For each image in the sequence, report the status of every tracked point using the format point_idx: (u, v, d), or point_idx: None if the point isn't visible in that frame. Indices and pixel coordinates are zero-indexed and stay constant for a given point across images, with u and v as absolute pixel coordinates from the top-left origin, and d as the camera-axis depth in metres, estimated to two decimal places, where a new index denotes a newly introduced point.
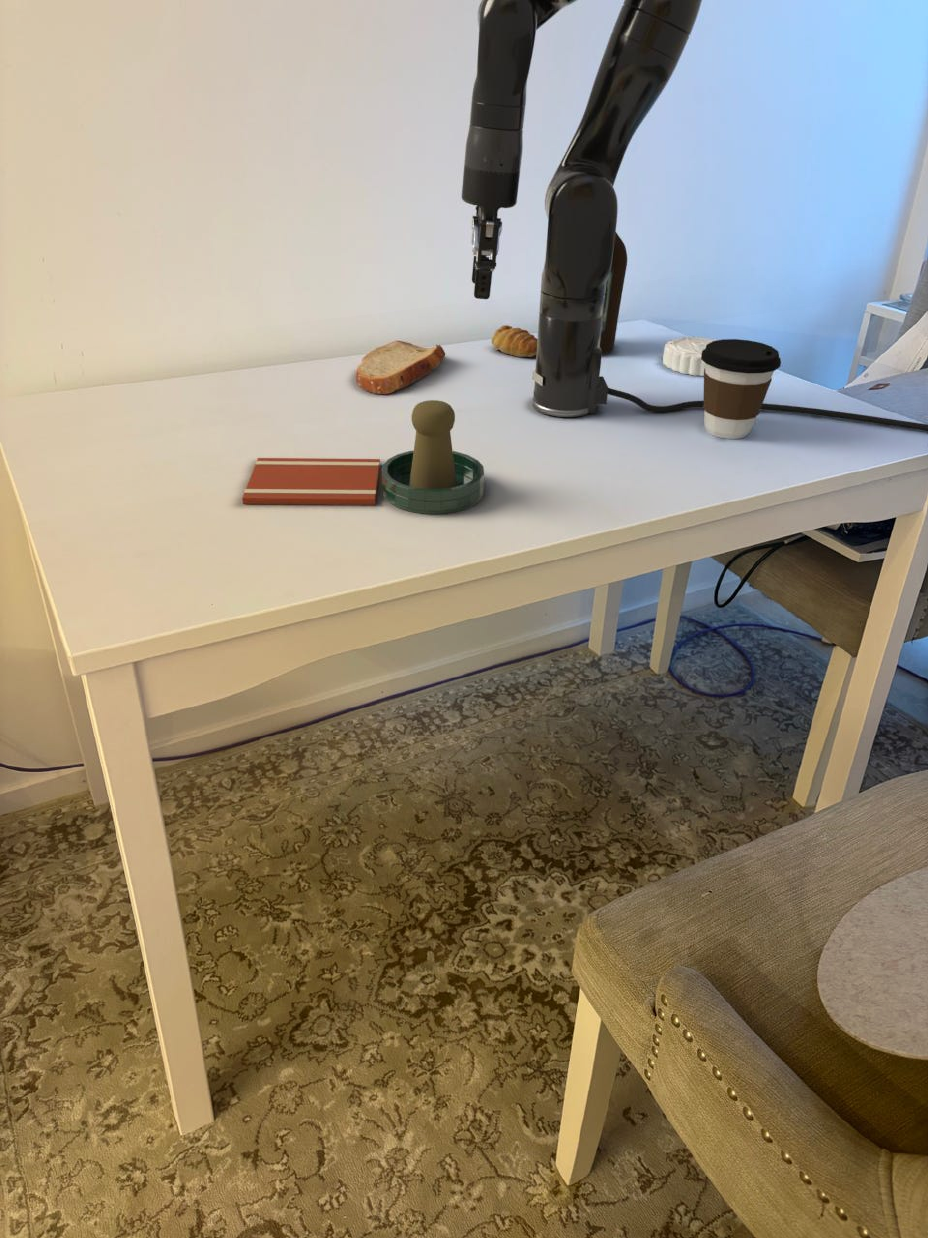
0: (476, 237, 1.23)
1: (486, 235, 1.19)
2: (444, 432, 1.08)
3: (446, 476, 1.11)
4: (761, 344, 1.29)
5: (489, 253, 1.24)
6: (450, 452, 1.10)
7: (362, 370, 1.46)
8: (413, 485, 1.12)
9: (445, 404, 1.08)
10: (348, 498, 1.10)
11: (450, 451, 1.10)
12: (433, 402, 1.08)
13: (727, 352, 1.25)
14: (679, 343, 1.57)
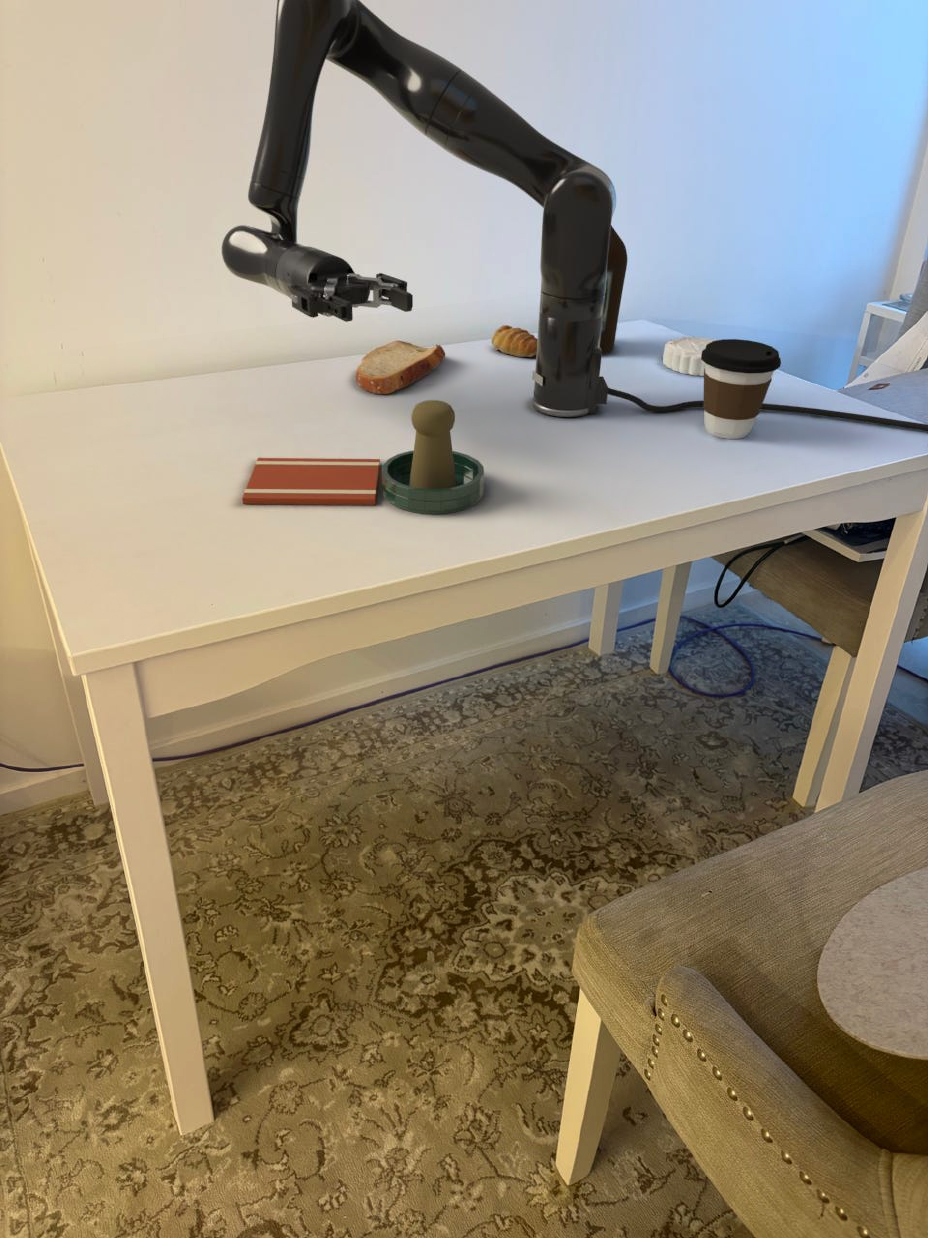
0: None
1: (296, 302, 1.13)
2: (444, 432, 1.08)
3: (446, 476, 1.11)
4: (761, 344, 1.29)
5: None
6: (450, 452, 1.10)
7: (362, 370, 1.46)
8: (413, 485, 1.12)
9: (445, 404, 1.08)
10: (348, 498, 1.10)
11: (450, 451, 1.10)
12: (433, 402, 1.08)
13: (727, 352, 1.25)
14: (679, 343, 1.57)
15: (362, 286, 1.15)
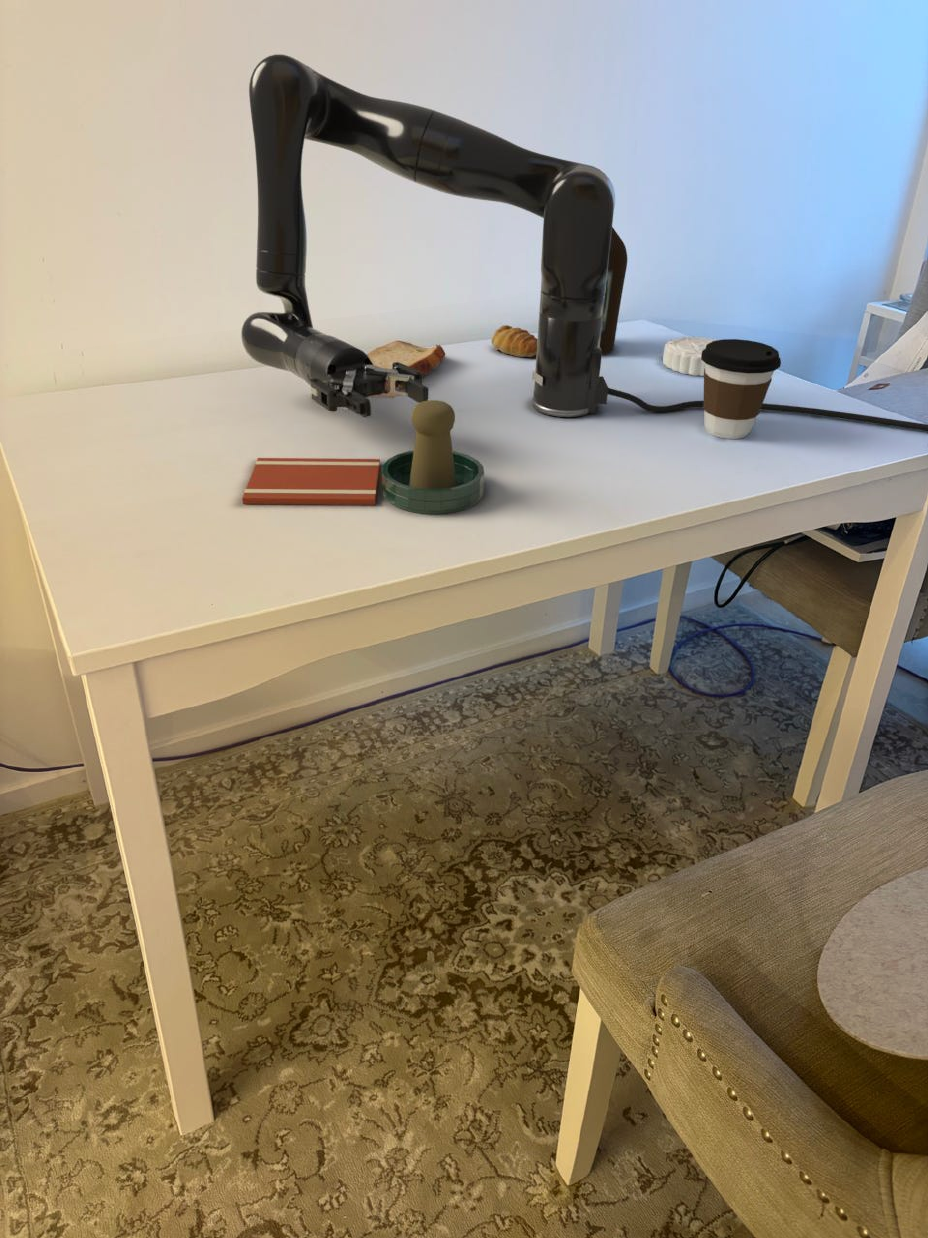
0: None
1: (315, 395, 1.17)
2: (444, 432, 1.08)
3: (446, 476, 1.11)
4: (761, 344, 1.29)
5: None
6: (450, 452, 1.10)
7: None
8: (413, 485, 1.12)
9: (445, 404, 1.08)
10: (348, 498, 1.10)
11: (450, 451, 1.10)
12: (433, 402, 1.08)
13: (727, 352, 1.25)
14: (679, 343, 1.57)
15: (379, 378, 1.19)
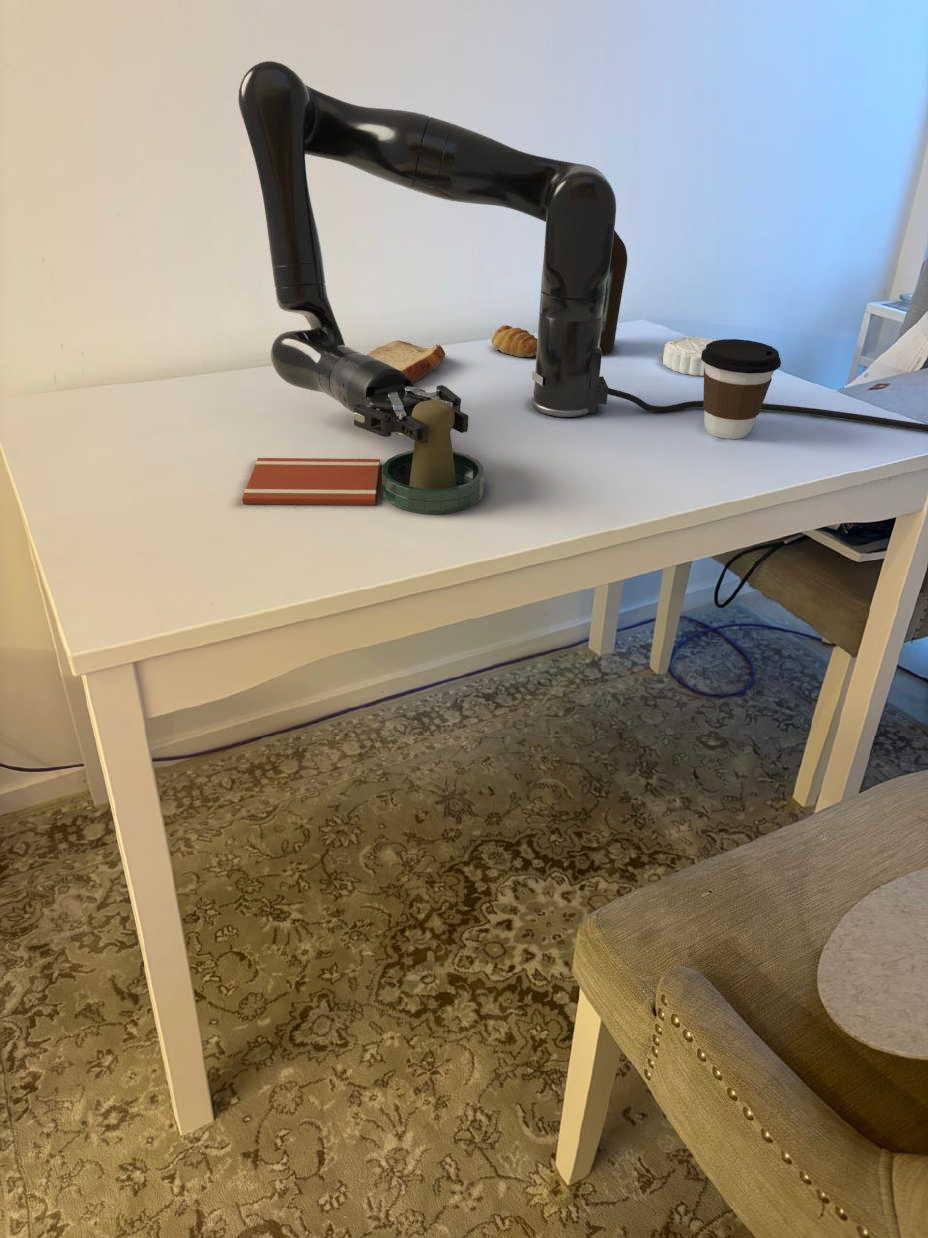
0: None
1: (362, 421, 1.10)
2: (444, 432, 1.08)
3: (445, 476, 1.11)
4: (761, 344, 1.29)
5: None
6: (450, 451, 1.10)
7: None
8: (413, 485, 1.12)
9: (445, 404, 1.08)
10: (348, 498, 1.10)
11: (450, 451, 1.10)
12: (433, 402, 1.08)
13: (727, 352, 1.25)
14: (679, 343, 1.57)
15: (421, 401, 1.12)
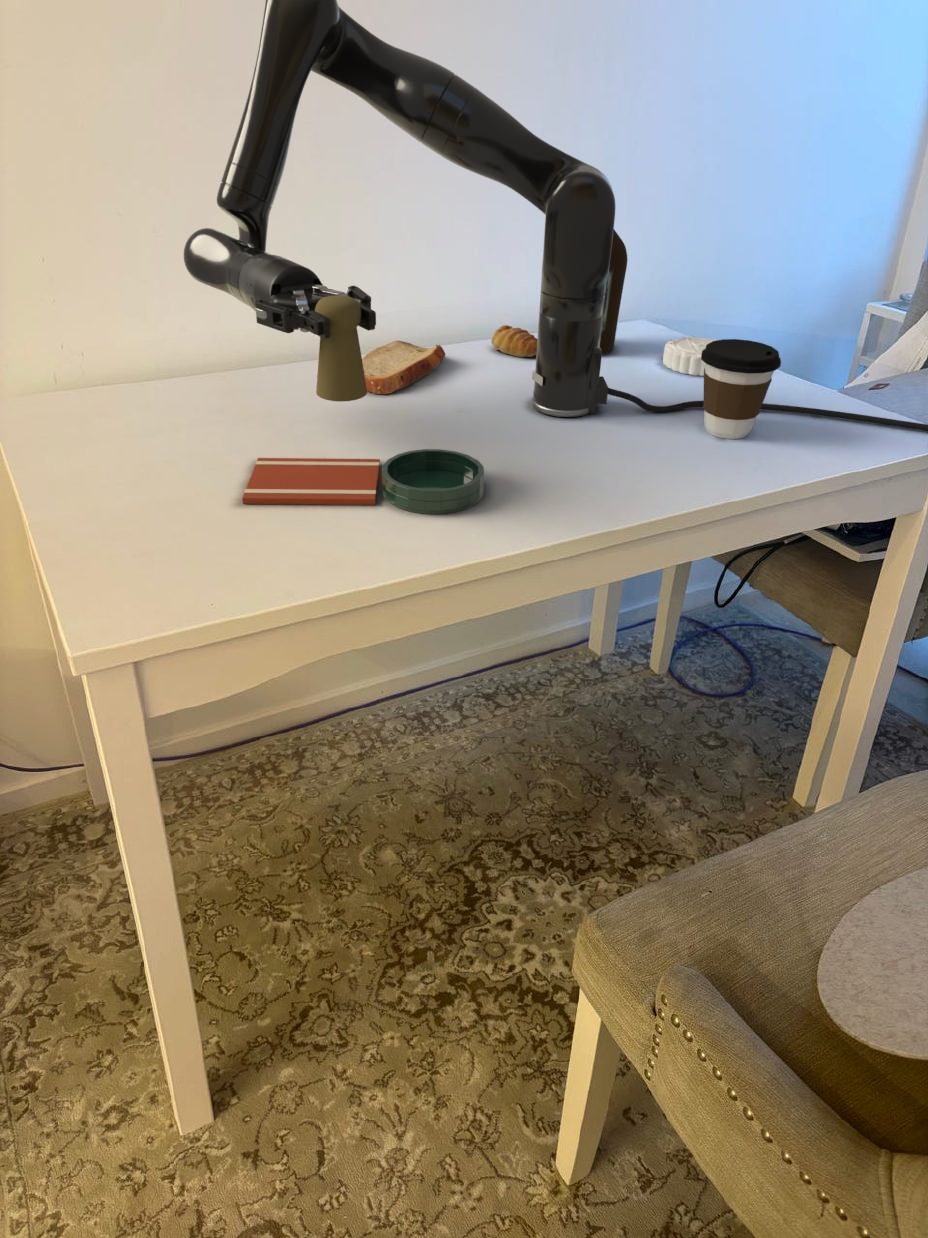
0: None
1: (264, 317, 1.04)
2: (348, 328, 1.02)
3: (352, 377, 1.05)
4: (761, 344, 1.29)
5: None
6: (357, 350, 1.05)
7: None
8: (319, 387, 1.06)
9: (350, 298, 1.03)
10: (348, 498, 1.10)
11: (357, 350, 1.05)
12: (337, 296, 1.03)
13: (727, 352, 1.25)
14: (679, 343, 1.57)
15: None
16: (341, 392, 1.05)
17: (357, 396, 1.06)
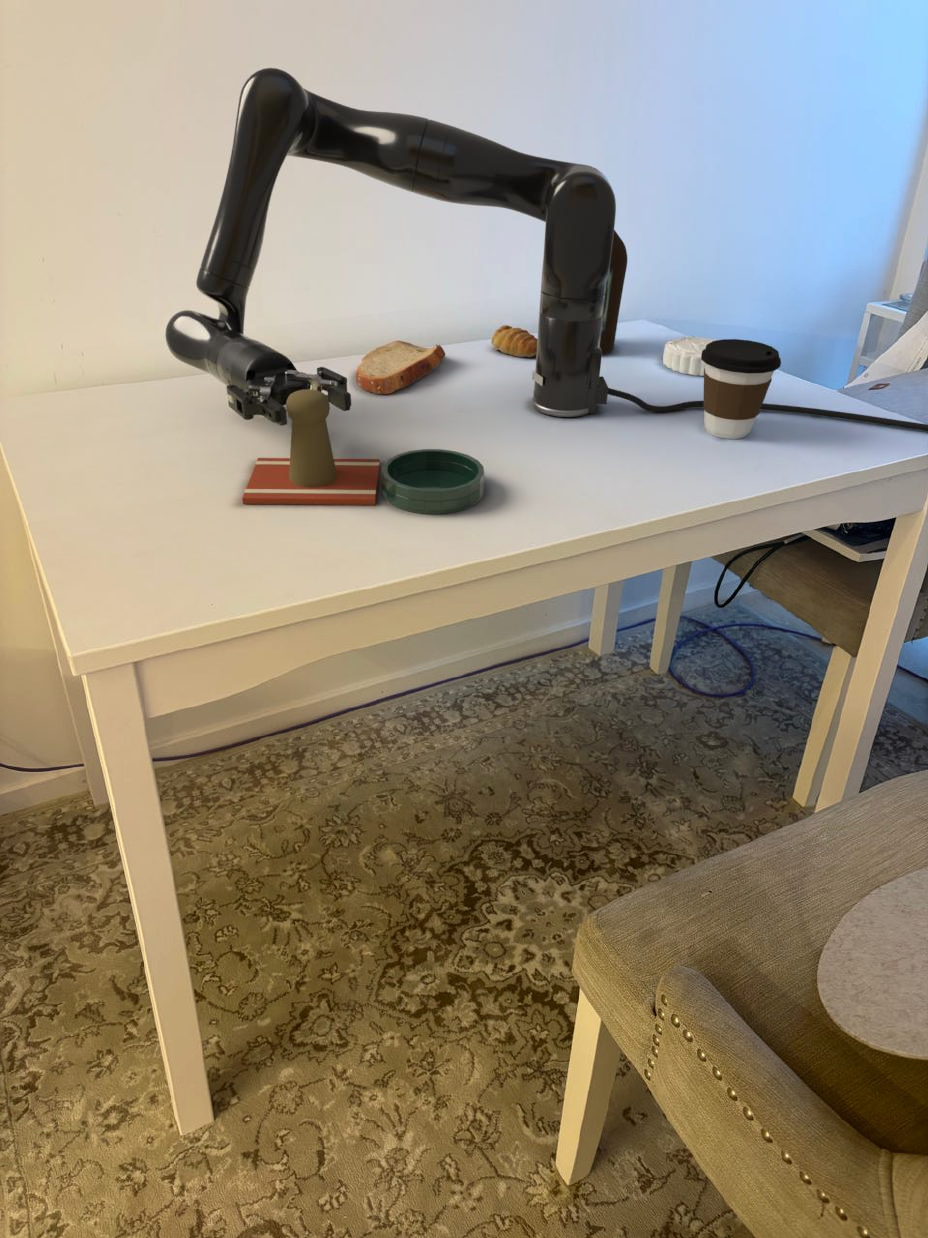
0: None
1: (232, 402, 1.11)
2: (317, 421, 1.09)
3: (322, 465, 1.12)
4: (761, 344, 1.29)
5: None
6: (326, 440, 1.11)
7: (362, 370, 1.46)
8: (291, 474, 1.13)
9: (319, 393, 1.09)
10: (348, 498, 1.10)
11: (326, 440, 1.11)
12: (307, 391, 1.09)
13: (727, 352, 1.25)
14: (679, 343, 1.57)
15: (300, 384, 1.13)
16: (311, 479, 1.12)
17: (327, 482, 1.13)
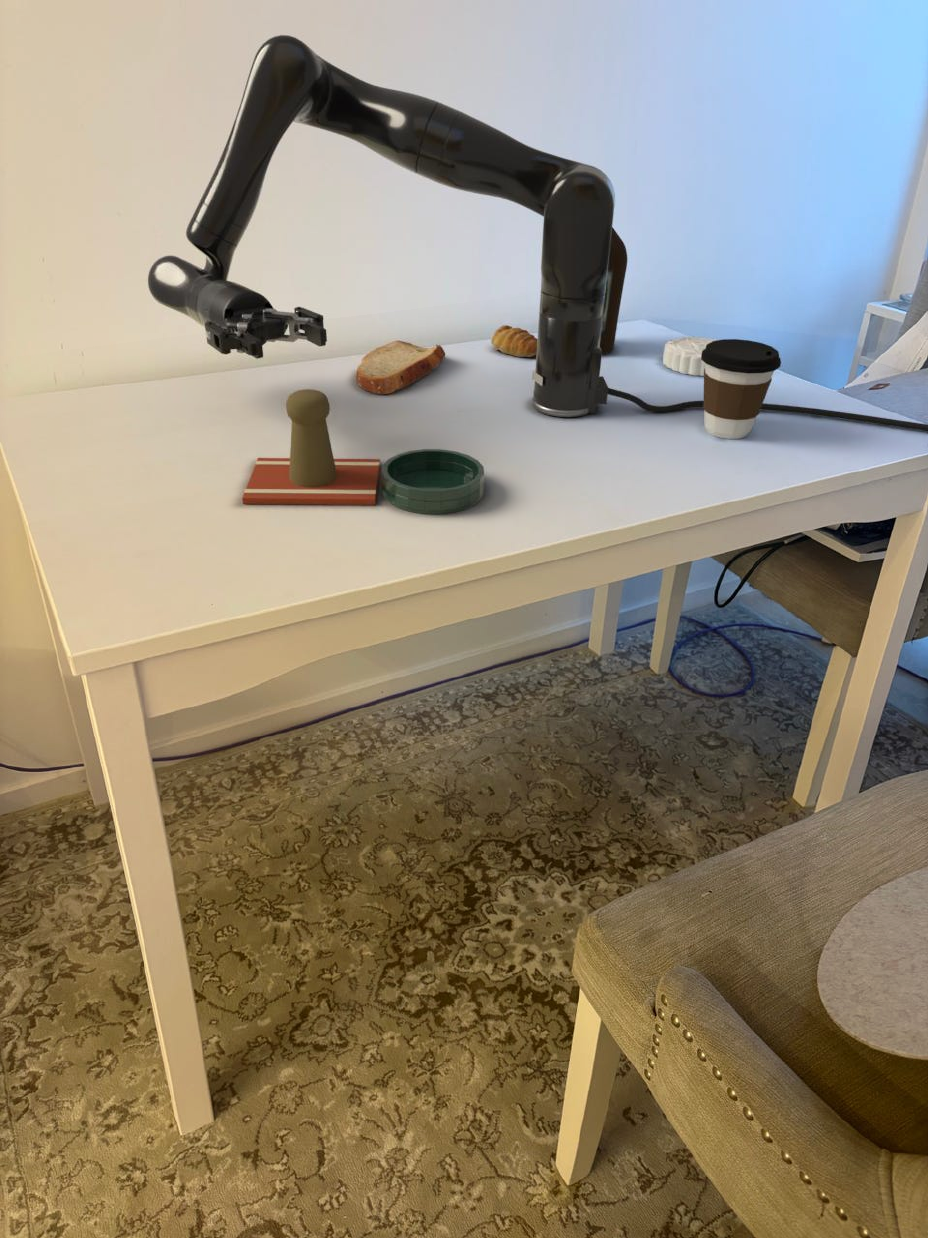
0: None
1: (210, 338, 1.13)
2: (317, 421, 1.09)
3: (322, 465, 1.12)
4: (761, 344, 1.29)
5: None
6: (326, 440, 1.11)
7: (362, 370, 1.46)
8: (291, 474, 1.13)
9: (319, 393, 1.09)
10: (348, 498, 1.10)
11: (326, 440, 1.11)
12: (307, 391, 1.09)
13: (727, 352, 1.25)
14: (679, 343, 1.57)
15: (277, 321, 1.15)
16: (311, 479, 1.12)
17: (327, 482, 1.13)
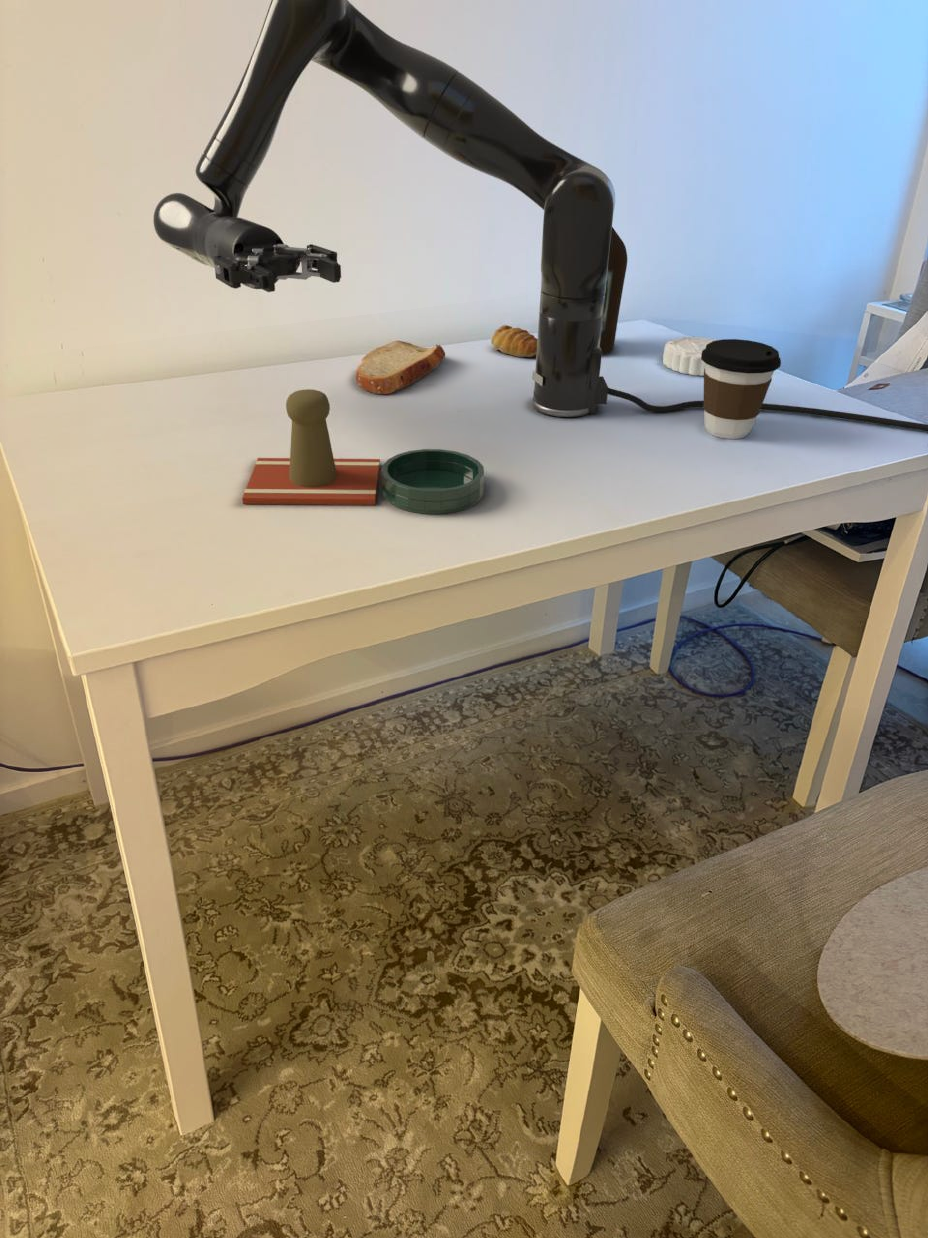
0: None
1: (219, 272, 1.08)
2: (317, 421, 1.09)
3: (322, 465, 1.12)
4: (761, 344, 1.29)
5: None
6: (326, 440, 1.11)
7: (362, 370, 1.46)
8: (291, 474, 1.13)
9: (319, 393, 1.09)
10: (348, 498, 1.10)
11: (326, 440, 1.11)
12: (307, 391, 1.09)
13: (727, 352, 1.25)
14: (679, 343, 1.57)
15: (289, 256, 1.10)
16: (311, 479, 1.12)
17: (327, 482, 1.13)
